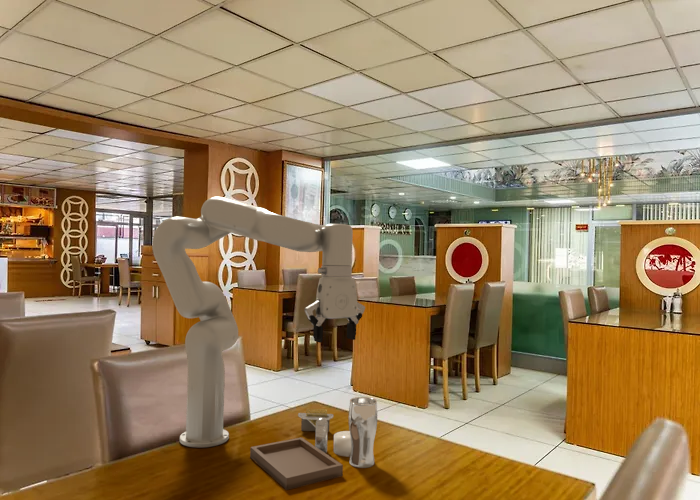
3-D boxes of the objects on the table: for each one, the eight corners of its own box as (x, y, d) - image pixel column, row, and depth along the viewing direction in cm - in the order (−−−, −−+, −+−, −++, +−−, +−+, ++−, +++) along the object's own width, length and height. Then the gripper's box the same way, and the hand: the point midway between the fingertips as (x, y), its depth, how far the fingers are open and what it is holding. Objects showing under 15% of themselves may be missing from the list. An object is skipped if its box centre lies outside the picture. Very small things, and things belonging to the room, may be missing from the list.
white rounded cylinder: (328, 449, 132) (328, 434, 132) (351, 444, 136) (351, 429, 136) (343, 458, 126) (343, 442, 126) (366, 453, 130) (366, 437, 130)
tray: (250, 457, 125) (250, 447, 126) (301, 447, 133) (301, 437, 133) (286, 490, 109) (286, 478, 109) (342, 476, 116) (342, 465, 116)
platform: (346, 442, 138) (346, 417, 139) (279, 439, 139) (280, 415, 139) (347, 427, 150) (348, 405, 151) (286, 425, 151) (286, 402, 151)
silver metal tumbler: (373, 470, 120) (375, 405, 120) (344, 467, 121) (346, 403, 121) (378, 458, 127) (379, 397, 127) (350, 455, 128) (352, 395, 128)
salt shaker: (313, 450, 131) (313, 417, 131) (323, 448, 133) (324, 415, 133) (318, 454, 128) (319, 420, 129) (329, 452, 130) (330, 418, 130)
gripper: (314, 273, 123) (312, 345, 122) (373, 273, 132) (371, 340, 132) (299, 271, 129) (297, 340, 129) (356, 272, 138) (355, 336, 138)
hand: (334, 340), depth 130 cm, fingers open, 9 cm apart
